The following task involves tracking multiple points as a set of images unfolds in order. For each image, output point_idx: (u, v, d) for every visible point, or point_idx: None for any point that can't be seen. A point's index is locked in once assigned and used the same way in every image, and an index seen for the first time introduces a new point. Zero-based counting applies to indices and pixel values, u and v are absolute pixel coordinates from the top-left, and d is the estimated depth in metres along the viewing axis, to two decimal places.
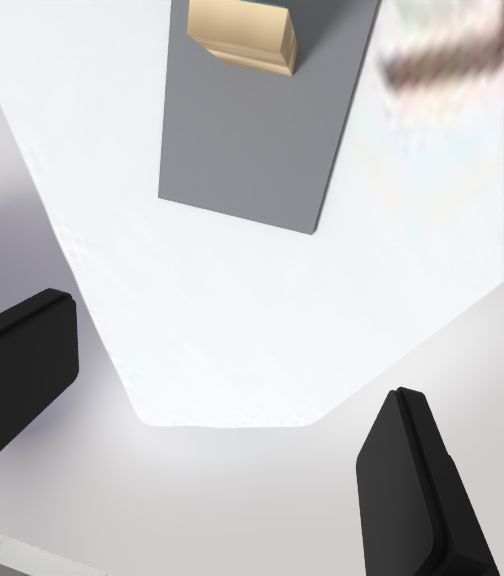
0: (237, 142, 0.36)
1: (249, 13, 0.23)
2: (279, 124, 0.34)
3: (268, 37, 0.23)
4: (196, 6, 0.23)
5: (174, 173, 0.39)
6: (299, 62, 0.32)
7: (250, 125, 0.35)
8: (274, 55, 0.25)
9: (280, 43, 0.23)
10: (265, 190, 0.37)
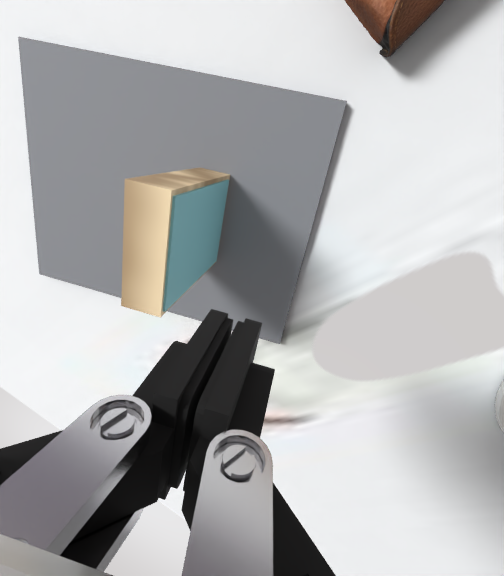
0: (115, 182, 0.27)
1: (153, 272, 0.17)
2: None
3: (132, 293, 0.18)
4: (155, 198, 0.16)
5: (59, 73, 0.24)
6: None
7: None
8: None
9: (128, 306, 0.19)
10: (70, 219, 0.29)
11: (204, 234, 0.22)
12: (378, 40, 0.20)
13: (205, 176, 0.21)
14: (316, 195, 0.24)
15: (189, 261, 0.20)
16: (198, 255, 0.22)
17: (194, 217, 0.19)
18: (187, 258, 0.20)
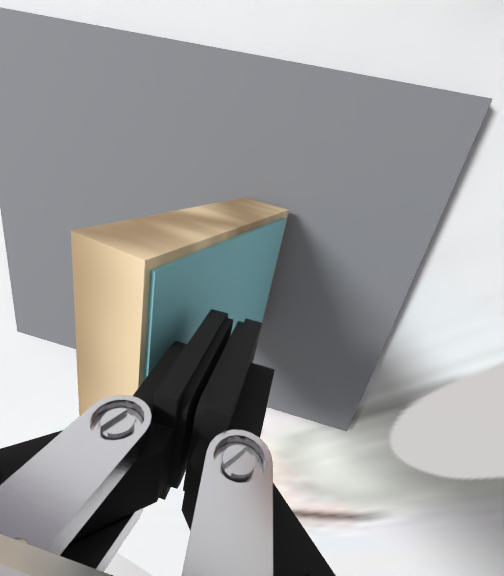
0: (120, 216, 0.19)
1: (121, 392, 0.10)
2: None
3: None
4: (119, 271, 0.08)
5: (35, 58, 0.16)
6: None
7: None
8: None
9: None
10: (57, 263, 0.21)
11: (235, 307, 0.14)
12: None
13: (244, 216, 0.13)
14: (423, 239, 0.16)
15: None
16: None
17: (211, 290, 0.11)
18: None
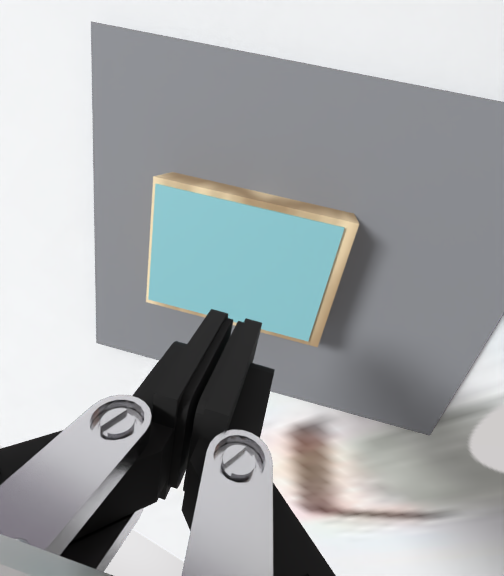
0: None
1: None
2: None
3: None
4: None
5: (152, 77, 0.16)
6: (337, 336, 0.20)
7: None
8: None
9: None
10: None
11: (247, 269, 0.17)
12: None
13: (283, 203, 0.16)
14: None
15: (202, 279, 0.18)
16: (230, 288, 0.17)
17: (208, 229, 0.16)
18: (196, 272, 0.17)
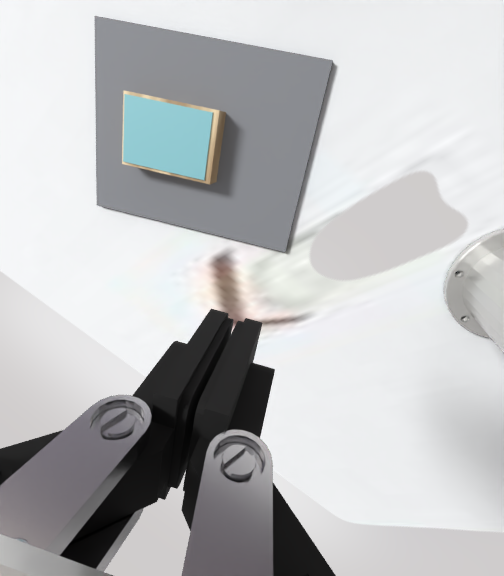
0: None
1: None
2: None
3: None
4: None
5: (124, 43, 0.33)
6: (227, 188, 0.37)
7: None
8: None
9: None
10: None
11: (170, 138, 0.34)
12: None
13: None
14: (312, 130, 0.33)
15: (149, 146, 0.34)
16: (163, 150, 0.34)
17: (150, 117, 0.33)
18: (146, 143, 0.34)
